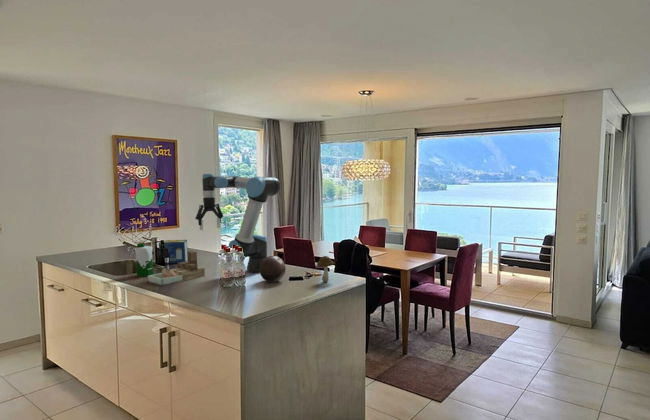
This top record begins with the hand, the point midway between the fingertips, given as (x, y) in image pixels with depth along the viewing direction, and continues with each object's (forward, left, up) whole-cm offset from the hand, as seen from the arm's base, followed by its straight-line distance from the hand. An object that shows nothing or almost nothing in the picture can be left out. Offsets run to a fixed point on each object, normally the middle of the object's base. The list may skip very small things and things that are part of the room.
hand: (210, 229), depth 278 cm
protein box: (+42, +2, -27) cm, 50 cm away
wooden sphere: (-60, 0, -27) cm, 66 cm away
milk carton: (+18, +37, -27) cm, 49 cm away
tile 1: (-11, +35, -22) cm, 43 cm away
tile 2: (-7, +35, -24) cm, 43 cm away
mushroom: (-85, -18, -27) cm, 91 cm away
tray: (-7, +37, -27) cm, 47 cm away
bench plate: (-7, +23, -27) cm, 36 cm away
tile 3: (-4, +34, -23) cm, 41 cm away
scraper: (-8, +21, -22) cm, 31 cm away
